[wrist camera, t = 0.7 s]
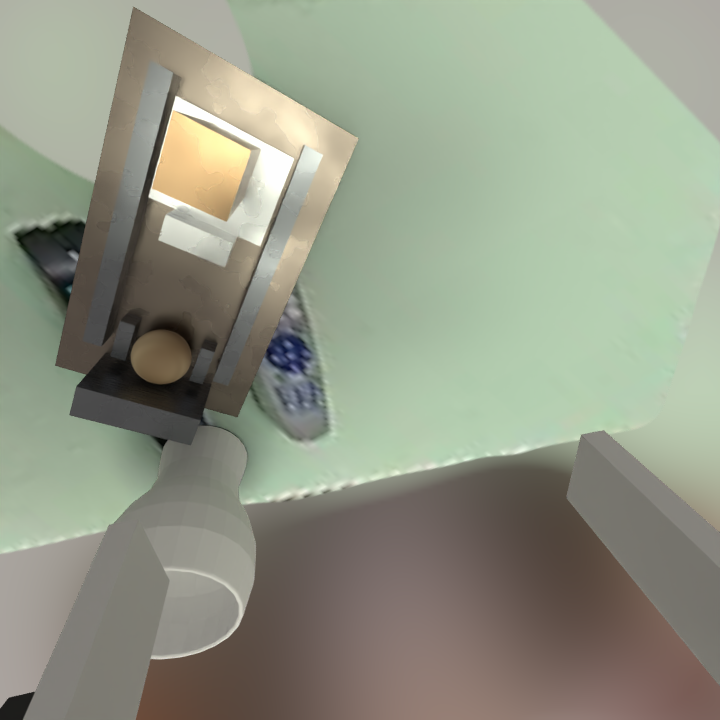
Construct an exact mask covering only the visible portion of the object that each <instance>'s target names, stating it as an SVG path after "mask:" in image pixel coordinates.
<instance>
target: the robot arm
mask: <svg viewBox="0 0 720 720" xmlns="http://www.w3.org/2000/svg"><path fill="white" fill-rule="evenodd" d="M567 499H568V500H569V501H570V503H571V504H572V505H573V506H574V508H575V509H576V510H577V511H578V513H579V514H580V515H581V516H582V517H583V519H584V520H585V521H586V522H587V524H588V525H589V526H590V527H591V529H592V530H593V531H594V532H595V533H596V535H597V536H598V537H599V538H600V540H601V541H602V542H603V543H604V544H605V546H606V547H607V548H608V549H609V551H610V552H611V553H612V554H613V556H614V557H615V558H616V559H617V560H618V562H619V563H620V564H621V565H622V567H623V568H624V569H625V570H626V572H627V573H628V574H629V575H630V576H631V578H632V579H633V580H634V581H635V583H636V584H637V585H638V586H639V587H640V589H641V590H642V591H643V592H644V594H645V595H646V596H647V597H648V598H649V600H650V601H651V602H652V603H653V605H654V606H655V607H656V608H657V610H658V611H659V612H660V613H661V614H662V616H663V617H664V618H665V619H666V621H667V622H668V623H669V624H670V625H671V627H672V628H673V629H674V630H675V632H676V633H677V634H678V635H679V637H680V638H681V639H682V640H683V641H684V643H685V644H686V645H687V646H688V648H689V649H690V650H691V651H692V653H693V654H694V655H695V656H696V657H697V659H698V660H699V661H700V662H701V664H702V665H703V666H704V667H705V668H706V670H707V671H708V672H709V673H710V675H711V676H712V677H713V678H714V680H715V681H716V682H717V683H718V684H719V686H720V532H719V531H717V530H716V529H715V528H714V527H713V526H712V525H711V524H709V523H708V522H707V521H706V520H705V519H703V517H701V516H700V515H699V514H698V513H697V512H696V511H694V509H692V508H691V507H690V506H689V505H688V504H687V503H686V502H684V501H683V500H682V499H681V498H680V497H679V496H678V495H676V494H675V493H674V492H673V491H672V490H671V489H670V488H668V487H667V486H666V485H665V484H664V483H663V482H662V481H661V480H659V479H658V478H657V477H656V476H655V475H654V474H653V473H651V472H650V471H649V470H648V469H647V468H646V467H645V466H644V465H642V464H641V463H640V462H639V461H638V460H637V459H636V458H634V457H633V456H632V455H631V454H630V453H629V452H628V451H627V450H625V449H624V448H623V447H622V446H621V445H620V444H619V443H617V442H616V441H615V440H614V439H613V438H612V437H611V436H610V435H608V434H607V433H606V432H605V431H604V430H603V431H598V432H592V433H587V434H582V435H581V438H580V442H579V446H578V450H577V455H576V459H575V463H574V467H573V471H572V476H571V480H570V484H569V489H568V493H567ZM169 582H170V580H169V578H168V576H167V574H166V572H165V570H164V568H163V566H162V564H161V562H160V561H159V559H158V557H157V555H156V553H155V551H154V549H153V547H152V545H151V543H150V541H149V539H148V537H147V535H146V533H145V531H144V529H143V527H142V525H141V523H140V521H139V519H137V520H132V521H127V522H122V523H116V524H111V525H109V526H108V528H107V531H106V533H105V535H104V538H103V540H102V542H101V544H100V547H99V549H98V551H97V553H96V556H95V558H94V560H93V562H92V565H91V567H90V569H89V571H88V574H87V576H86V578H85V581H84V583H83V585H82V587H81V590H80V592H79V594H78V596H77V599H76V601H75V603H74V605H73V608H72V610H71V613H70V614H69V617H68V619H67V621H66V624H65V626H64V628H63V630H62V632H61V635H60V637H59V639H58V641H57V644H56V646H55V649H54V651H53V653H52V655H51V657H50V660H49V662H48V664H47V667H46V669H45V671H44V673H43V675H42V678H41V680H40V682H39V684H38V687H37V689H36V691H35V692H32V693H27V694H23V695H19V696H14V697H10V698H8V699H7V701H6V702H5V703H4V705H3V706H2V707H1V708H0V720H135V719H136V715H137V711H138V707H139V703H140V699H141V695H142V691H143V687H144V683H145V679H146V675H147V671H148V667H149V663H150V659H151V655H152V651H153V647H154V643H155V639H156V635H157V630H158V626H159V622H160V618H161V614H162V610H163V606H164V602H165V598H166V594H167V590H168V586H169Z"/></svg>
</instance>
